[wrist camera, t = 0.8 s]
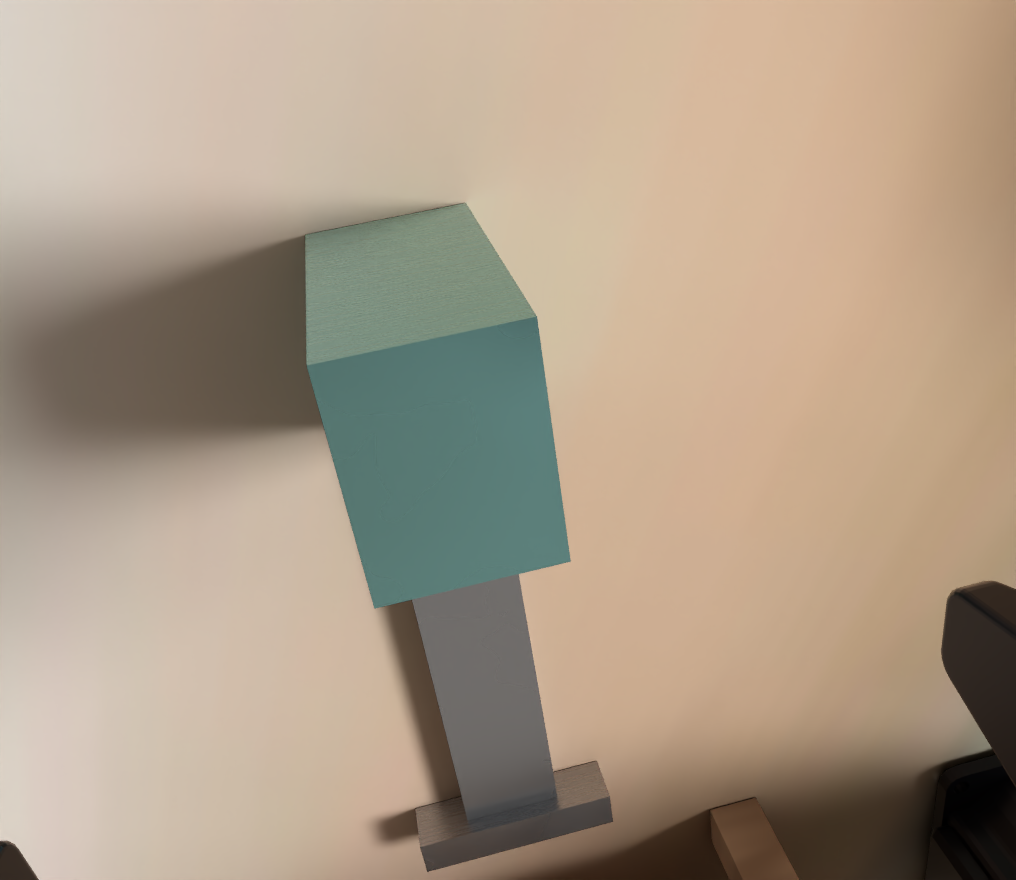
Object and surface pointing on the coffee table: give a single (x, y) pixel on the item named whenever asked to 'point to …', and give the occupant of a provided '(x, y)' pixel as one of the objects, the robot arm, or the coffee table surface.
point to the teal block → (451, 499)
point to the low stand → (748, 843)
